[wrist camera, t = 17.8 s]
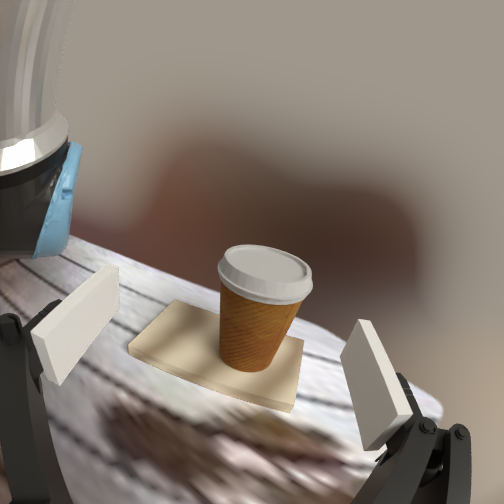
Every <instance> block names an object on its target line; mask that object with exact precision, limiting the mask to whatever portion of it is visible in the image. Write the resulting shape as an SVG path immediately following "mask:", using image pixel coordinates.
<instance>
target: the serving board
mask: <svg viewBox="0 0 504 504" xmlns="http://www.w3.org/2000/svg"><path fill="white" fill-rule="evenodd" d="M219 323H220V315H218V314H215V313H212V312H209V311H206V310H203V309H201V308H198V307H195V306H192V305H189V304H186V303H183V302H181V301H178V300H174V301H173V302H172V303H171V304H170V305H169V306H168V307H167V308H165V309H164V310H163V311H162V312H161V313H160V314H159V315H158V316H157V317H156V318H155V319H154V320H153V321H152V322H151V323H150V324H149V325H148V326H147V327H146V328H145V329H144V330H143V331H142V332H141V333H140V334H139V335H138V336H137V337H136V338H135V339H133V340H132V341H131V342H130V343H129V344H128V351H129V355H131V356H133V357H135V358H137V359H139V360H141V361H144V362H146V363H148V364H150V365H152V366H154V367H157V368H159V369H161V370H163V371H166V372H168V373H170V374H173V375H175V376H177V377H180V378H182V379H185V380H187V381H190V382H192V383H195V384H198V385H200V386H203V387H205V388H208V389H211V390H214V391H217V392H219V393H222V394H225V395H228V396H231V397H234V398H237V399H241V400H244V401H247V402H250V403H254V404H257V405H261V406H264V407H268V408H271V409H275V410H279V411H283V412H287V413H290V412H291V410H292V408H293V406H294V403H295V397H296V392H297V385H298V379H299V373H300V366H301V359H302V352H303V345H304V340H302V339H298V338H295V337H291V336H287V335H285V337H284V339H283V341H282V343H281V345H280V346H279V349H278V350H277V352H276V354H275V356H274V358H273V360H272V362H271V364H270V365H269V366H268V367H267V368H266V369H264V370H262V371H259V372H252V373H250V372H242V371H238V370H236V369H233V368H231V367H230V366H228V365H227V364H226V363H225V362H224V361H223V360H222V358H221V357H220V354H219V339H220V338H219V335H220V333H219V331H220V324H219Z"/></svg>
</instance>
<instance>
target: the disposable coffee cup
mask: <svg viewBox="0 0 504 504" xmlns="http://www.w3.org/2000/svg"><path fill="white" fill-rule="evenodd" d="M218 272H219V277H220V279H221V293H220V323H219V324H220V331H219V333H220V335H219V338H220V339H219V354H220V357H221V358H222V360H223V361H224V362H225V363H226V364H227V365H228V366H230V367H231V368H233V369H236V370H238V371H242V372H250V373H252V372H259V371H262V370H264V369H266V368H267V367H268V366H269V365H270V364H271V362H272V360H273V358H274V356H275V354H276V352H277V350H278V349H279V346H280V345H281V343H282V341H283V339H284V337H285V335H286V333H287V331H288V329H289V327H290V325H291V323H292V321H293V319H294V317H295V315H296V313H297V311H298V309H299V307H300V304H301V303H302V300H303V299H305V297H306V296H307V295H308V294H309V293H310V292H311V290H312V287H313V284H312V280H311V269H310V267H309V266H308V265H307V264H306V263H305V262H303V261H302V260H301V259H299V258H298V257H296V256H294V255H292V254H289V253H287V252H284V251H281V250H278V249H274V248H270V247H265V246H258V245H239V246H234V247H232V248H230V249H228V250H227V251H226V253H225V255H224V257H223V259H222V260H220V262H219V263H218Z"/></svg>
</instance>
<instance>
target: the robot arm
mask: <svg viewBox="0 0 504 504" xmlns="http://www.w3.org/2000/svg"><path fill="white" fill-rule="evenodd" d="M76 2H77V0H0V258H19V259H36V258H37V257H49V256H57V255H59V254H61V253H62V252H63V251H64V250H65V248H66V246H67V244H68V238H69V229H70V222H71V214H72V207H73V200H74V193H75V187H76V181H77V176H78V170H79V165H80V160H81V154H82V146H81V145H80V144H77V143H75V142H73V141H71V142H69V143H68V123H67V121H66V119H65V118H64V117H63V116H61V115H60V114H59V113H58V112H57V111H56V110H55V101H56V92H57V85H58V78H59V71H60V66H61V60H62V55H63V50H64V46H65V41H66V37H67V33H68V29H69V26H70V22H71V18H72V15H73V12H74V9H75V5H76ZM119 308H120V307H119V266H116V265H112V264H109V263H106V264H105V265H104V266H103V267H101V268H100V269H99V270H98V271H97V272H95V273H94V274H93V275H92V276H91V277H90V278H88V279H87V280H86V281H85V282H84V283H83V284H81V285H80V286H79V287H78V288H77V289H76V290H74V291H73V292H72V293H71V294H70V295H69V296H68V297H67V298H65V299H64V300H63V301H62V300H59V299H58V300H56V301H53V302H51V303H49V304H48V305H47V306H46V307H45V308H44V309H43V310H42V311H40V312H39V313H38V315H36V316H35V317H34V318H33V319H32V320H31V321H30V322H28V323H27V324H26V325H25V326H24V327H23V328H22V325H21V321H20V318H19V317H18V316H17V315H15V314H13V313H7V314H3V315H1V316H0V441H1V448H2V454H3V460H4V466H5V471H6V475H7V480H8V484H9V488H10V492H11V496H12V501H11V502H10V503H9V504H73V502H72V500H71V497H70V495H69V492H68V490H67V487H66V484H65V481H64V479H63V476H62V473H61V470H60V467H59V463H58V460H57V457H56V453H55V449H54V446H53V442H52V438H51V434H50V429H49V425H48V420H47V415H46V409H45V403H44V397H43V390H42V383H41V378H40V376H39V375H40V374H41V373H42V372H43V371H44V373H45V376H46V378H47V380H49V381H51V382H53V383H55V384H56V385H58V386H60V385H61V384H62V383H63V381H64V380H65V378H66V377H67V376H68V374H69V373H70V371H71V370H72V369H73V367H74V366H75V365H76V363H77V362H78V361H79V359H80V358H81V357H82V355H83V354H84V353H85V351H86V350H87V349H88V347H89V346H90V345H91V343H92V342H93V341H94V340H95V338H96V337H97V336H98V335H99V333H100V332H101V331H102V329H103V328H104V327H105V326H106V324H107V323H108V322H109V321H110V319H111V318H112V317H113V316H114V315H115V313H116V312H117V311H118V310H119ZM340 359H341V362H342V366H343V369H344V373H345V377H346V380H347V384H348V388H349V392H350V395H351V399H352V403H353V407H354V411H355V415H356V419H357V423H358V427H359V432H360V436H361V440H362V445H363V449H364V451H374V450H379V449H380V448H381V447H382V446H383V445H384V444H385V443H386V446H387V450H386V451H385V452H384V453H383V454H381V455H380V456H379V457H378V458H377V459H376V460H375V462H377V461H378V460H379V459H380V460H379V462H378V463H377V465H376V467H375V468H374V470H373V471H372V473H371V474H370V476H369V478H368V479H367V481H366V482H365V484H364V485H363V487H362V488H361V490H360V491H359V492H358V494H357V495H356V497H355V498H354V499H353V501H352V502H351V503H350V504H470V496H471V439H470V438H471V437H470V433H469V431H468V429H467V428H466V427H465V426H464V425H462V424H454V425H453V426H452V427H451V428H450V429H449V430H444V429H439V428H437V425H436V424H435V423H434V421H432V420H431V419H429V418H427V417H423V416H422V413H421V411H420V409H419V407H418V404H417V402H416V400H415V398H414V396H413V393H412V391H411V389H410V387H409V384H408V382H407V380H406V379H405V378H404V377H403V376H402V375H401V374H400V373H395V372H394V369H393V367H392V365H391V363H390V361H389V358H388V356H387V354H386V352H385V350H384V348H383V346H382V344H381V342H380V340H379V338H378V336H377V333H376V331H375V329H374V328H373V326H372V324H371V322H370V321H367V320H361V319H358V321H357V323H356V325H355V327H354V329H353V331H352V334H351V335H350V337H349V339H348V341H347V343H346V345H345V347H344V349H343V351H342V353H341V355H340ZM442 465H443V468H442Z"/></svg>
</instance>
